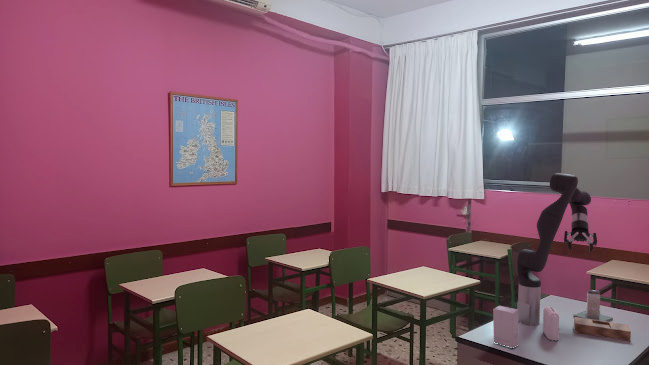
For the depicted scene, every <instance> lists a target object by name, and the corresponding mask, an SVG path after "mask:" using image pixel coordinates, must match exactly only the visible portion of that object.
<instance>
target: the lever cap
mask: <svg viewBox="0 0 649 365" xmlns="http://www.w3.org/2000/svg"><path fill="white" fill-rule="evenodd" d="M600 309H601V291H600V290H593V289H587V292H586V310H585V311H586V314H587V317H589V318H596V319H600V314H601V310H600Z"/></svg>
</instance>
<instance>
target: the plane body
mask: <svg viewBox="0 0 649 365" xmlns="http://www.w3.org/2000/svg"><path fill="white" fill-rule="evenodd" d="M573 318H574V322H573V328H574V333H576V334H581V335H582V334H584V335H589V336H596V337H600V338H601V337H602V338H608V339H614V340H623V341H627V342H631V332H632V331H631V328H629V325H628V324H626V323H620V322H612V321H608V322H606V321H599V320H592V319H585V318H578V317H573Z"/></svg>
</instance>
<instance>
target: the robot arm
mask: <svg viewBox="0 0 649 365" xmlns="http://www.w3.org/2000/svg"><path fill="white" fill-rule="evenodd" d="M578 183H579V178H578V177H577V176H576V175H574V174H567V173H561V172H556V173H553V174H552V176H551V177H550V180H549V188H550V190H552V191H553V192H555V193H558V194H561V195H560V197H559V198H558V199H557V200H555V201H554V202H553V203H550V204H549V205H548V206H546V207H545V208H543V209H542V211H541V213H540V215H539V217H538V219H537V222H536V229H537V232H538V233H537V234H538V237H539V244H538V247H537V249H536V250H532V249H527V248H526V249H525V248H524V249H521V250H520V251H519V252H518V255H517V262H516V263H517V264H516V265H517V267H516V268H517V279H518V294H517V295H518V297H517V298H518V299H517V302H516V304H517V305H516V309H518V323H521V324H525V325H527V326H535V325H536V326H537V325H539V324H540V322H541V320H540V319H541V292H542V290H541V289H542V288H541V286H542V281H541V279H540V278H539V277H537V276H536V275H535V274H534V273H533V272H535V273H541V272H542V271H543V270H544V268H545V267H546V264H547V261H548V258H549V254H550V251H551V248H552V245H553V242H554V240H555V237H556V234H557V232H558V231H559V227H560V225H561V223H562V221H563V218H564V215H565V212H566V210H567V207H568V205H569V206H570V209H571V223H570V224H571V226H570V227H571V231H570V232H569V231H567V230H565V231H564V237H563V244H567V249H568V250H569V251H572V243H574V242H575V241H576V242H585V243H586V244H588V245H589V246H588V247H589V250H588V252H589V253H592V252H593V251H594V246H597V244H598V238H597V233H596V232H593V233H590V231H589V219H588V209H587V207H586V206H588V205H590V204H591V202H592V196H591V195H590V194H589V193H588V192H587V191H585V190H581V189H580V188H578ZM569 236H570V238H569V239H568V237H569ZM590 238H591V239H590Z"/></svg>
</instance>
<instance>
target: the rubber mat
mask: <svg viewBox="0 0 649 365" xmlns="http://www.w3.org/2000/svg"><path fill="white" fill-rule="evenodd" d="M572 317H573V318H574V317H578V318H585V319H592V320H599V321H606V322H612V321H613V320H614V319H613V318H614V317H612V316H608V315H605V314H601V313H600V319H596V318H589V317H587V314H586V310H583V311H580V312H578V313H575V314H573V316H572Z"/></svg>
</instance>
